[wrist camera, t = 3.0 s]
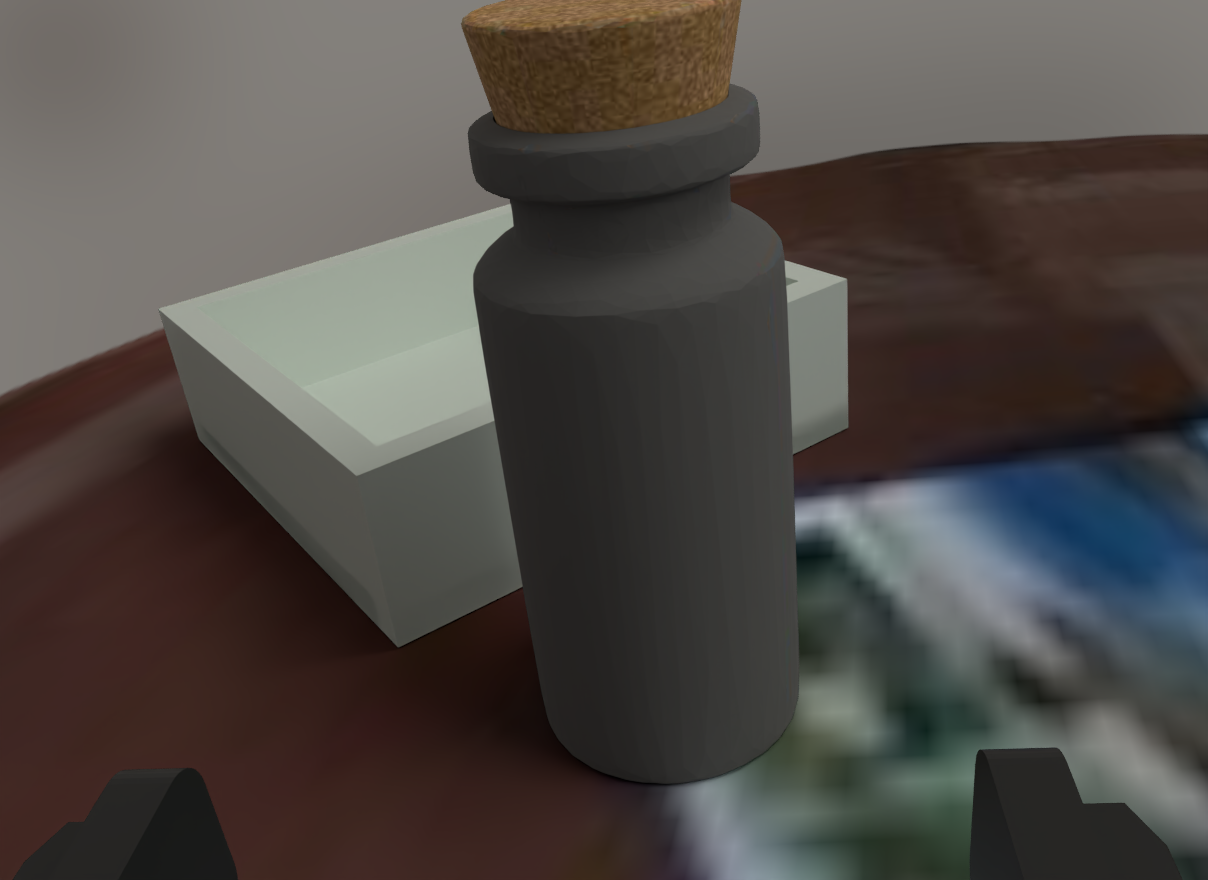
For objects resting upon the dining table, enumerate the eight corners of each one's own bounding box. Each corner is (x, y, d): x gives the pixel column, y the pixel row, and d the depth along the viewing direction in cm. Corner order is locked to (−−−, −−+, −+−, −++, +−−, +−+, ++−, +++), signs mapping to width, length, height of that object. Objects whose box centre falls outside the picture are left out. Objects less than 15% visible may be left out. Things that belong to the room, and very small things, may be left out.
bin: (568, 306, 48) (553, 191, 46) (848, 427, 36) (847, 279, 34) (199, 439, 41) (158, 308, 38) (398, 647, 29) (356, 475, 26)
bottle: (586, 605, 29) (498, -14, 22) (815, 625, 28) (798, -39, 21) (508, 769, 24) (364, 41, 17) (780, 805, 23) (743, 14, 16)
